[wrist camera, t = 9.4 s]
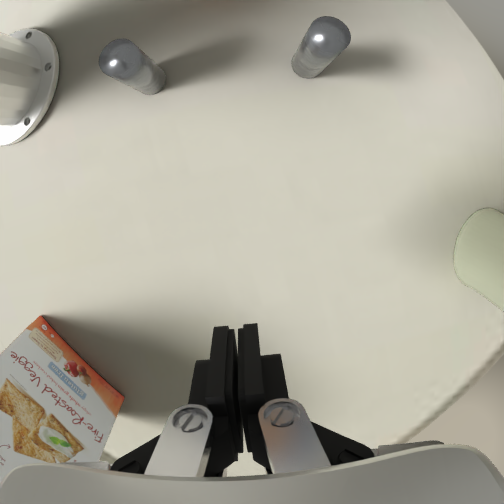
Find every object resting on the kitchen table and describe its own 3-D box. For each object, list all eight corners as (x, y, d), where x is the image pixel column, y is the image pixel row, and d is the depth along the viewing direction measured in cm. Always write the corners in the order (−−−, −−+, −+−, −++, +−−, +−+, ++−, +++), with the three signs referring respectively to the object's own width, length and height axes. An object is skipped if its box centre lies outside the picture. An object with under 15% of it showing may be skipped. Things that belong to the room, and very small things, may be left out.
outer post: (293, 78, 24) (312, 51, 16) (289, 51, 23) (307, 15, 15) (323, 78, 24) (353, 53, 16) (319, 51, 23) (347, 17, 15)
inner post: (138, 97, 24) (99, 80, 16) (136, 70, 23) (98, 44, 15) (167, 91, 24) (137, 70, 16) (165, 64, 23) (136, 34, 15)
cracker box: (128, 394, 33) (73, 545, 13) (101, 411, 34) (47, 543, 14) (41, 310, 30) (-72, 433, 10) (22, 335, 31) (-74, 446, 11)
